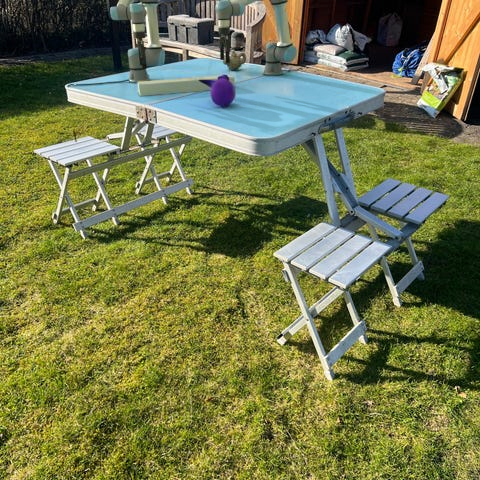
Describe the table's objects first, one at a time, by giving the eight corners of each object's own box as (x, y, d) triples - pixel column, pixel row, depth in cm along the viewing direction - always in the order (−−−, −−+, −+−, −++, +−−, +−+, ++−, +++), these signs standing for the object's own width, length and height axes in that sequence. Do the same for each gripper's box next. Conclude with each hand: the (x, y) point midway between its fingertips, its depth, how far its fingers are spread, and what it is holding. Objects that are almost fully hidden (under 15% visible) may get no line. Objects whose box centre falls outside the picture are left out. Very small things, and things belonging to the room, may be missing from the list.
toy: (221, 97, 287) (235, 112, 266) (195, 92, 280) (207, 107, 259) (227, 72, 279) (242, 85, 258) (201, 67, 272) (213, 80, 251)
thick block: (140, 96, 296) (138, 84, 292) (138, 93, 304) (137, 81, 300) (234, 88, 312) (234, 77, 308) (230, 85, 320) (230, 74, 316)
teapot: (226, 72, 363) (226, 52, 355) (220, 70, 372) (219, 50, 364) (249, 69, 372) (249, 50, 365) (242, 67, 381) (241, 48, 373)
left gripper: (147, 32, 272) (151, 69, 283) (142, 29, 293) (146, 63, 303) (135, 33, 270) (139, 70, 281) (131, 29, 291) (135, 64, 302)
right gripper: (234, 28, 286) (235, 63, 296) (224, 25, 306) (225, 58, 317) (223, 29, 284) (224, 64, 295) (213, 25, 304) (215, 59, 315)
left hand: (143, 67), depth 292 cm, fingers open, 13 cm apart
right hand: (225, 61), depth 306 cm, fingers open, 13 cm apart
